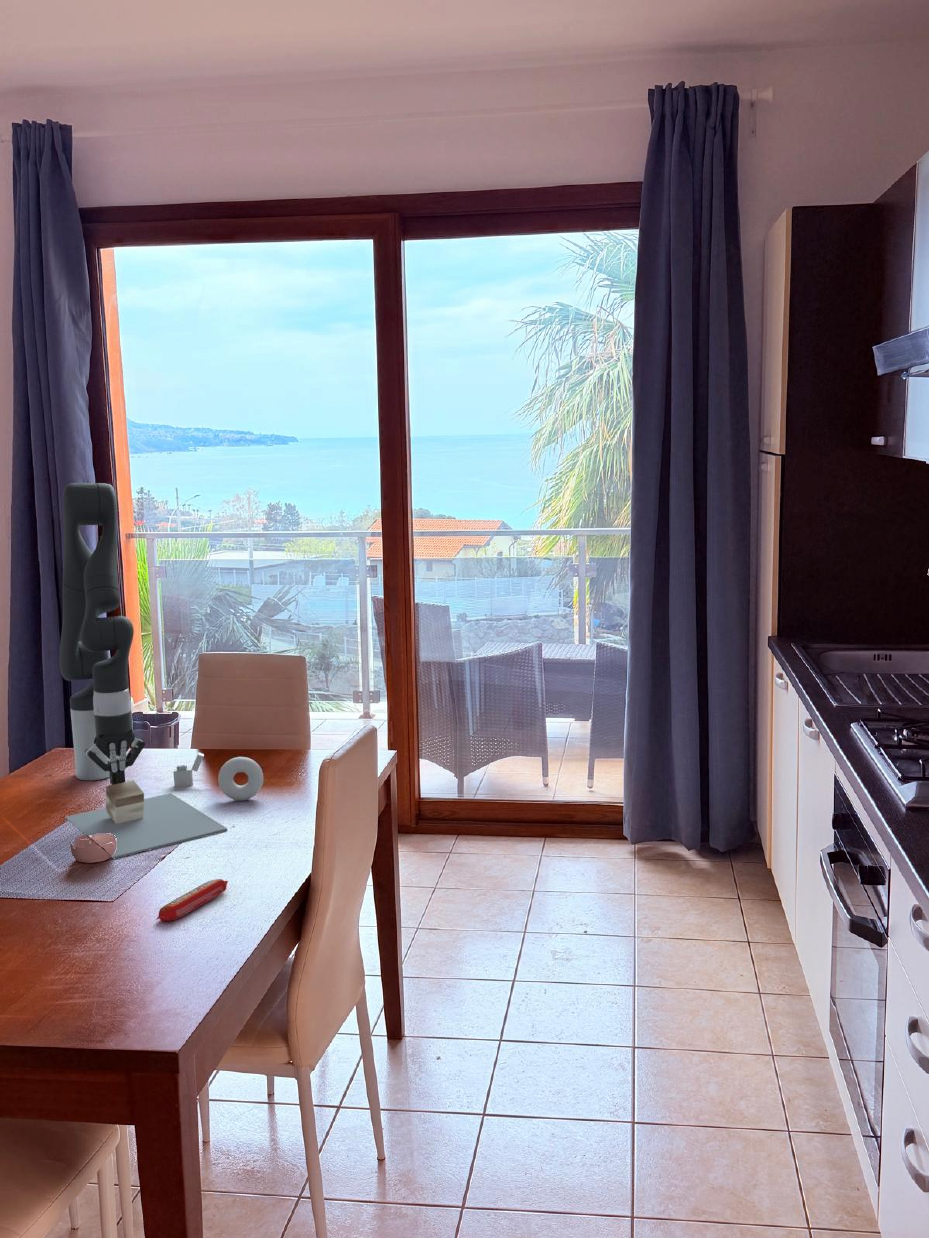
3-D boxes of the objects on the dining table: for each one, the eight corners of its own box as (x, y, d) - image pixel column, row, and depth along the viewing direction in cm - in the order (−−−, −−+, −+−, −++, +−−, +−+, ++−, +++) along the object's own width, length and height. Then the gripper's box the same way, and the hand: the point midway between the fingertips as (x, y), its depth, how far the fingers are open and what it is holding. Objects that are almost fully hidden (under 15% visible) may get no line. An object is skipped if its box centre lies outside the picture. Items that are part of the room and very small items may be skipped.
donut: (265, 796, 250) (262, 753, 248) (264, 801, 247) (261, 757, 245) (220, 799, 249) (217, 756, 247) (218, 804, 245) (215, 760, 244)
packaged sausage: (215, 888, 200) (214, 872, 199) (231, 892, 198) (230, 876, 198) (153, 924, 186) (152, 907, 185) (170, 928, 184) (168, 911, 184)
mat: (64, 818, 238) (64, 816, 238) (170, 795, 252) (170, 793, 252) (113, 859, 214) (112, 856, 214) (227, 830, 229) (227, 828, 228)
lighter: (174, 789, 257) (172, 755, 255) (175, 786, 258) (172, 753, 257) (205, 786, 258) (203, 753, 257) (206, 784, 260) (204, 751, 258)
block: (105, 810, 237) (106, 786, 235) (133, 804, 241) (133, 780, 238) (115, 824, 233) (116, 799, 231) (143, 817, 236) (144, 793, 234)
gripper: (136, 700, 241) (141, 775, 245) (75, 710, 233) (81, 788, 237) (149, 708, 235) (154, 785, 239) (87, 719, 227) (93, 798, 231)
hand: (117, 786), depth 238 cm, fingers closed
